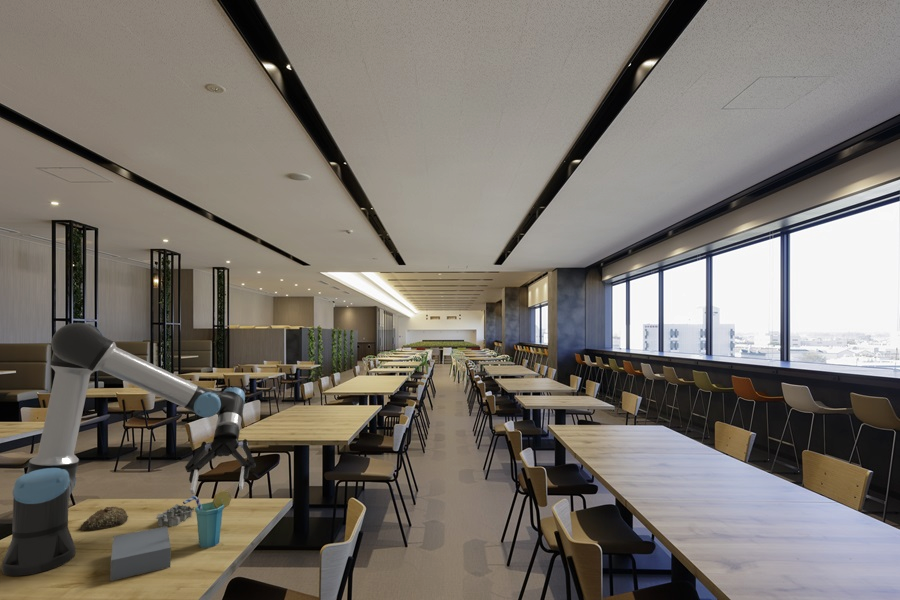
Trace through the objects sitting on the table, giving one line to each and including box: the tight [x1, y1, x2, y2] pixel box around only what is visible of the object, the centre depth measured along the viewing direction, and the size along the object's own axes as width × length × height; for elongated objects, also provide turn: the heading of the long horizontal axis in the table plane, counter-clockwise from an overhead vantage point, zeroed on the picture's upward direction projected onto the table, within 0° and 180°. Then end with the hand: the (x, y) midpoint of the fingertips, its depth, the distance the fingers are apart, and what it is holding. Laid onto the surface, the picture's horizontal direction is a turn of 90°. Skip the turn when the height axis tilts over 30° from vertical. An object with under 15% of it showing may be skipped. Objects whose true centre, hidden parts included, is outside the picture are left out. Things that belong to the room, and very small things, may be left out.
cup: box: [182, 490, 232, 549], centre depth 144 cm, size 14×8×15 cm, turn 149°
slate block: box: [110, 525, 172, 582], centre depth 134 cm, size 13×17×5 cm
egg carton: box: [155, 504, 196, 528], centre depth 163 cm, size 11×8×4 cm
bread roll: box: [79, 506, 129, 531], centre depth 162 cm, size 13×12×5 cm
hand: (216, 490), depth 151 cm, fingers open, 13 cm apart
